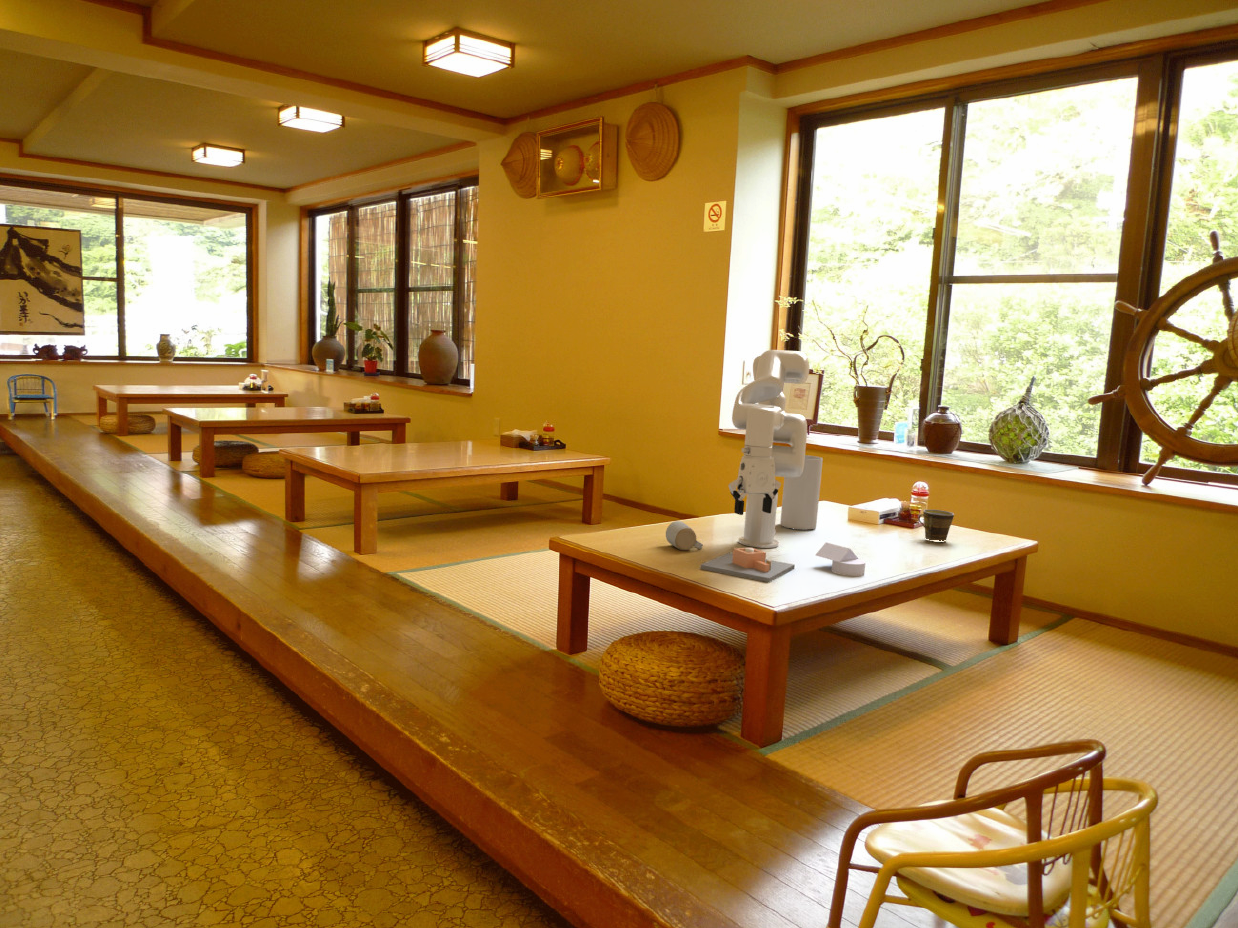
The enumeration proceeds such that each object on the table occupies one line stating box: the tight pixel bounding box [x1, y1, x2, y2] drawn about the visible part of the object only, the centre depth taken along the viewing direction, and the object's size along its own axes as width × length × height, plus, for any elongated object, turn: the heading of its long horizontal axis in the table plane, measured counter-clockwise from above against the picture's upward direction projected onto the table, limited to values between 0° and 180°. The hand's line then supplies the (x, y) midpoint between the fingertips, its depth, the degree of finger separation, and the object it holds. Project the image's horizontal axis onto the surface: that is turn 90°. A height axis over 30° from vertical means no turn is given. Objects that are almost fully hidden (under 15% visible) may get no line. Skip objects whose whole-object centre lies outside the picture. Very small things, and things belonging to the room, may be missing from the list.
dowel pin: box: [766, 559, 772, 570], centre depth 240 cm, size 1×1×2 cm
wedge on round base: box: [815, 542, 866, 577], centre depth 250 cm, size 9×7×13 cm
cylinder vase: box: [779, 454, 824, 531], centre depth 309 cm, size 12×12×25 cm
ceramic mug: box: [665, 520, 704, 551], centre depth 265 cm, size 11×8×8 cm
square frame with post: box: [732, 546, 770, 572], centre depth 242 cm, size 11×6×4 cm, turn 29°
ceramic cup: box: [917, 509, 955, 541], centre depth 300 cm, size 13×10×10 cm
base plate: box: [699, 547, 796, 583], centre depth 244 cm, size 20×20×6 cm
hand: (752, 513), depth 243 cm, fingers open, 9 cm apart
